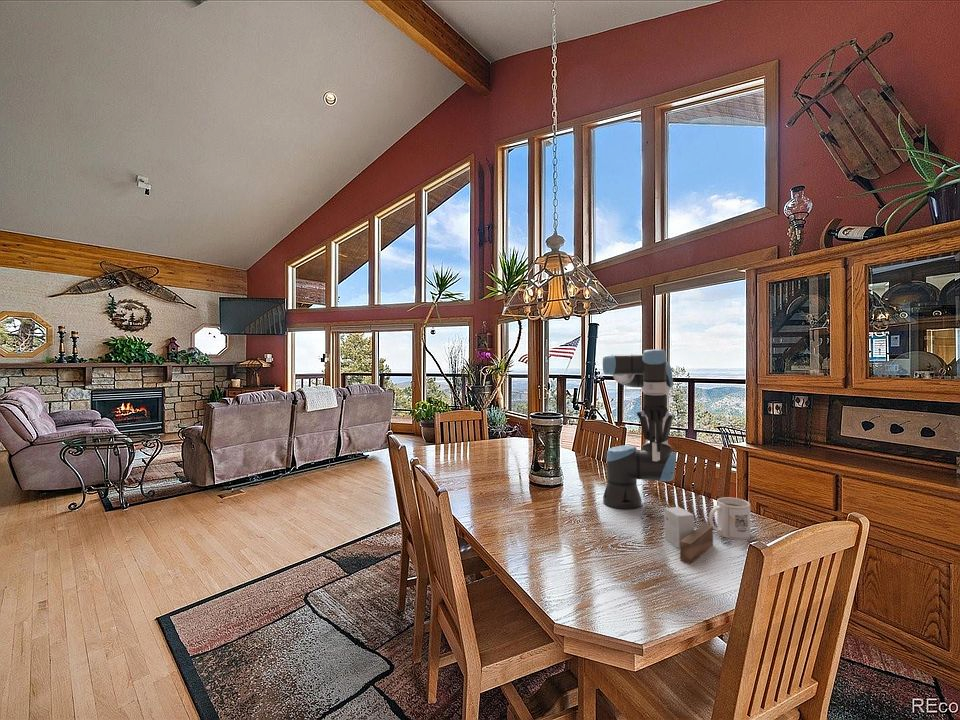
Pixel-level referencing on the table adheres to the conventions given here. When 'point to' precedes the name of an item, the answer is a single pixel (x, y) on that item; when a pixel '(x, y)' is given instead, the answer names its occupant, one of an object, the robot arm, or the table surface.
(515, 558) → the table surface
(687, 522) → the small box
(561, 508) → the table surface
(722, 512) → the mug
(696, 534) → the board
